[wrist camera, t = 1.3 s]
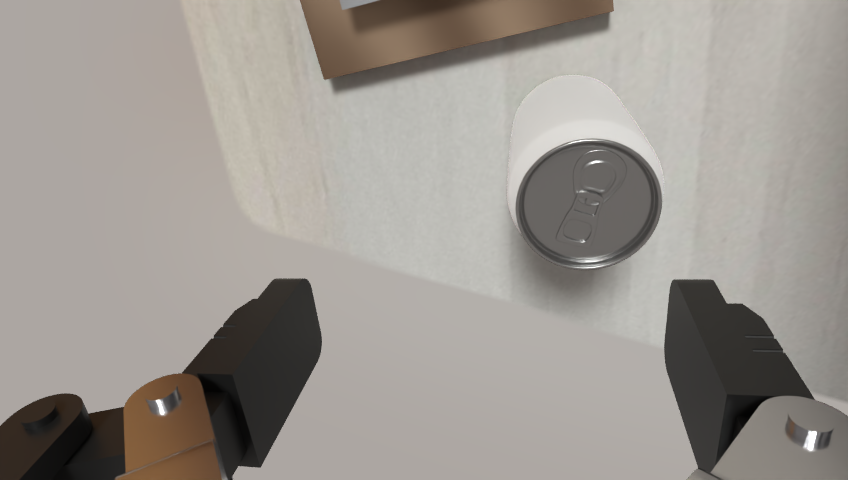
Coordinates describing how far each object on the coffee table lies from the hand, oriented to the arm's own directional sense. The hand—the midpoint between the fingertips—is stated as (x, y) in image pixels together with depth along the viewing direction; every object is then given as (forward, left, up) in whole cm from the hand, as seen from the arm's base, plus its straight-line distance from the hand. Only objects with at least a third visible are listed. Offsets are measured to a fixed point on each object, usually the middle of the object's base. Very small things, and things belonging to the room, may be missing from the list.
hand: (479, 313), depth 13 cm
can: (-3, +2, -23) cm, 23 cm away
